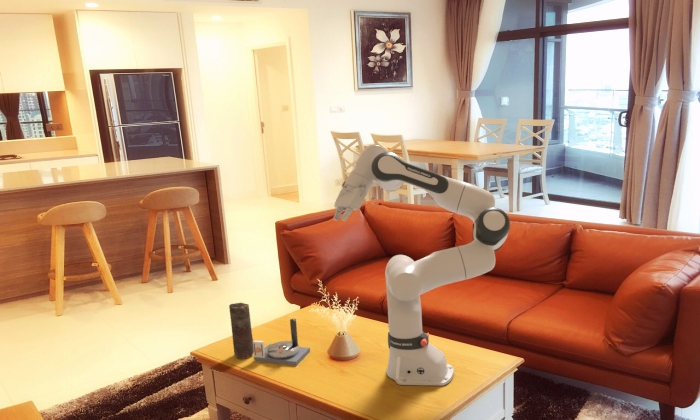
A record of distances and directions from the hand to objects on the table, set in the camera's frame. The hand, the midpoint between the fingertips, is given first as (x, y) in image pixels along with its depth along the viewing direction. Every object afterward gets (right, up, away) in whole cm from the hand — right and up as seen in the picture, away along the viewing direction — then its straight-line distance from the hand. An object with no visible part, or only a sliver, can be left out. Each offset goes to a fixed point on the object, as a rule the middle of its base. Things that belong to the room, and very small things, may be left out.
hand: (339, 220), depth 199 cm
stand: (-21, -51, +12) cm, 56 cm away
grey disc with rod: (-21, -49, +11) cm, 54 cm away
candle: (-36, -51, +15) cm, 64 cm away
